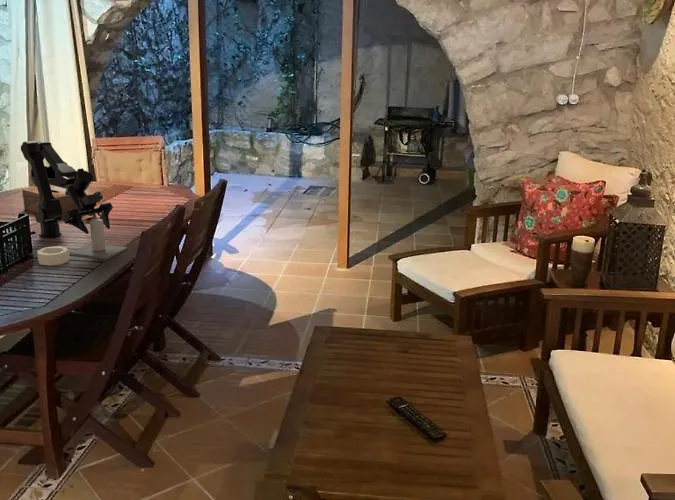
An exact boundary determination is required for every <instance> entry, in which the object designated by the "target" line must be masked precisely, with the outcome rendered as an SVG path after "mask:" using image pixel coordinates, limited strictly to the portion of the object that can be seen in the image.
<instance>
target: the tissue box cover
mask: <svg viewBox="0 0 675 500" xmlns="http://www.w3.org/2000/svg"><path fill="white" fill-rule="evenodd" d="M50 187H51V191H52V194H53V196H54V197H55V198H56V199H59V200H60V204H61V207H62V210H63V211H62V219H63V217H64V215H65V214H66V212H67V210H72V209H76V207H73V204H74V203H73V201H72V199H71V197H70V196H69V195H65V192H66V189H65V188H62V187H58V186H54V185H50ZM21 191H22V198H23V199H22V201H23V209H26V210H25V211H27V210H29V211H28V212H31V211H32V212H31V213H34V212H35V214H37V213H38V211H39V208H38V205H39V201H40V196H39V192H38V189H37V187H35V186H34V187H29V188H28V187H27V188H22V189H21Z"/></svg>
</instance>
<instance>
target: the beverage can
mask: <svg viewBox="0 0 675 500" xmlns="http://www.w3.org/2000/svg"><path fill="white" fill-rule="evenodd" d="M104 226H105V225H104V224H103V219H100V218H96V219H93V218H92V219H90V220H89V228H90V240H91V243H92V250H93V251H96V252H100V251H104V250H105V245H106V239H105V238H106V237H105V227H104Z"/></svg>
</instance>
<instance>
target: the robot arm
mask: <svg viewBox="0 0 675 500" xmlns="http://www.w3.org/2000/svg"><path fill="white" fill-rule="evenodd" d="M20 151H21V153H22V155H23V158H24V160H26V161H27V162H28V163H29V164H30V166H31V169H32V171H33V174H34V178H35V181H36V185H37V189H38V192H39V196H40V201H39V205H38V208H39V211H38V213H36V214H35V221H36V223H39V224H40V230H41V231H40V232H41V233H40V234H39V235H38V236H39V237H40V238H49V239H50V238H51V239H54V238H55V237H58V236H60V235H61V236H62V234H63V232H61V231H60V225H59V221H63V222H64V224H65V225H68V226H73V227H75V228H76V229H78V230H80V231H81V232H82V233H85V234H86V235H89V234H90V233H89V230H88V228H87V225H86V224H85V222H84V221H83V219H82V217H85V216H88V215H91V214H95V215H98V217H99V219H103V225H104V226H105V228H106V229H107V230H110V229H111V225H110V219H109V214H110V213H111V211H112V210H113V208H114V206H113V205H112V203H111V202H108V201H107V202H103V203H100V202H101V200H103V199H104V197H103V194H102V192H101V191H96V192H94V193H93V194H87V192H86V190H88V189H89V186H90V185H91V183H92V182H93V180H94V176H93V174H92V173H91V172H89V171H87V170H85V169H84V168H78V169H77V170H76V169H75V168H74V167H73V166H71V165H68V164H67V165H66V164H65V163H64V162H65V161H64V160H63V158H61V156H60V155H59V153H58V152H57V151H56V150H55V149H54V147H53V146H52V143H51V141H49V140H45V141H44V140H43V141H41V140H40V139H38V140H37V139H36V140H29V141H28V140H27V141H23V142H22V144H21V145H20ZM44 160H45V161H46V163H48V164H49V166H51V167H52V168H53V170H54V171H55V178H56V180H57V182H58V183H59V184H60V185H61V186H67V185H70V186H69V187H68V188H66V192H65V195H69V196H70V197H71V199H72V201H73V203H74V204H73V207H76V208H77V209H72V210H67V212H66V214H65V215H64V217H63V218H62V211H63V210H62V207H61V204H60V200H59V199H56V198H55V197H54V196H53V194H52V191H51V187H50V184H49V180H48V176H47V173H46V169H45V166H46V165H45V162H44ZM97 203H100V205H99V206H98V207H97Z"/></svg>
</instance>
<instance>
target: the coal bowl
mask: <svg viewBox="0 0 675 500" xmlns="http://www.w3.org/2000/svg"><path fill="white" fill-rule="evenodd" d="M64 163H65V164H66V165H68V163H67V162H66V161H64ZM44 166H45V169H46V173H47V176H48V180H49V184H50V185H54V186H58V187H62V188H65V189H66V188H68V187H69V186H70V185H67V186H61V185H60V184H59V183H58V182H57V180H56V178H55V171H54V170H53V168H52V167H51V166H50V165H49V166H46V165H44ZM30 169H31V170H30V180H31V183H32V184H33V186H34V187H37V185H36V181H35V178H34V174H33V171H32V168H30Z"/></svg>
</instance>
